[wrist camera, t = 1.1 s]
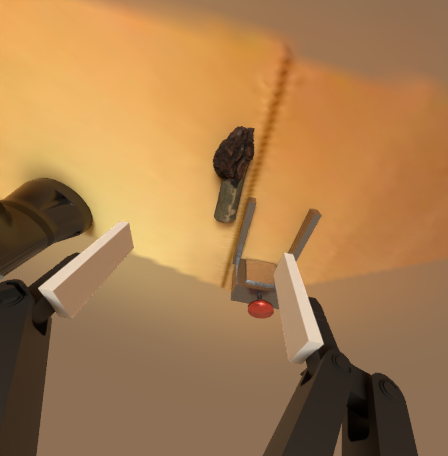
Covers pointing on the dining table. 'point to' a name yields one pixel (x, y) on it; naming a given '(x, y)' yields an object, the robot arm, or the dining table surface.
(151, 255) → the dining table surface
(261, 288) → the cradle
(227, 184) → the morel mushroom
